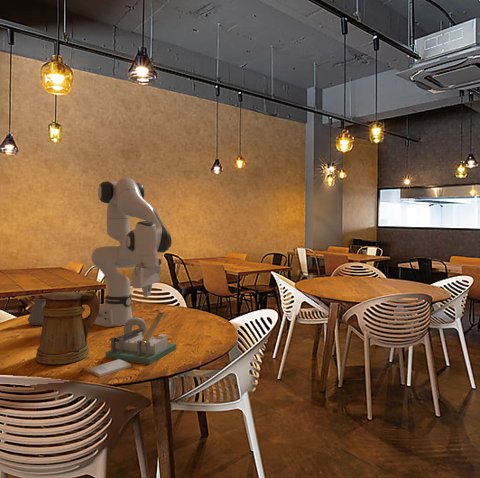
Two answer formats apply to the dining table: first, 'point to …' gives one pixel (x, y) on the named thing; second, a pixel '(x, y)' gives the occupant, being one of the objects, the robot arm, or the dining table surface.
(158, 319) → the strap brass
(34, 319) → the coffee pot
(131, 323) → the donut
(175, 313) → the dining table surface
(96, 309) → the tankard
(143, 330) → the dark grey long bar
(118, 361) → the external hard drive
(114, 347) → the board
